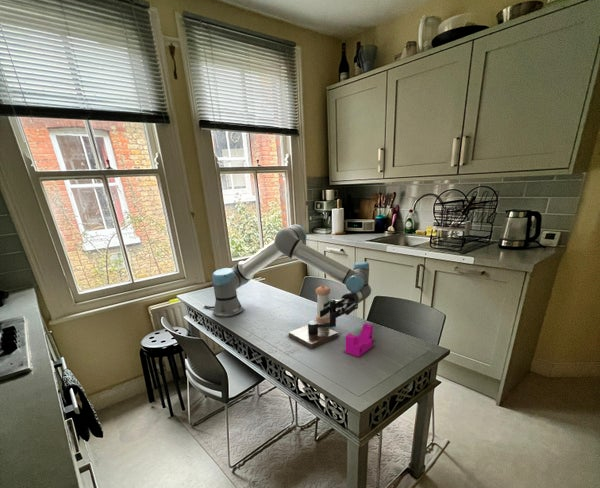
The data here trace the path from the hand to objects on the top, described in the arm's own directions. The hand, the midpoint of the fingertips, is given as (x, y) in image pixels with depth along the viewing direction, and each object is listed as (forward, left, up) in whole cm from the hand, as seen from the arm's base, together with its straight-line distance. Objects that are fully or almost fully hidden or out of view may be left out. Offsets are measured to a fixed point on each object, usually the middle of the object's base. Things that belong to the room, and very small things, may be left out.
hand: (326, 315), depth 136 cm
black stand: (-5, +1, -10) cm, 11 cm away
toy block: (+15, +6, -12) cm, 20 cm away
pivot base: (-7, -2, -12) cm, 14 cm away
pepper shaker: (-15, +12, -2) cm, 19 cm away
